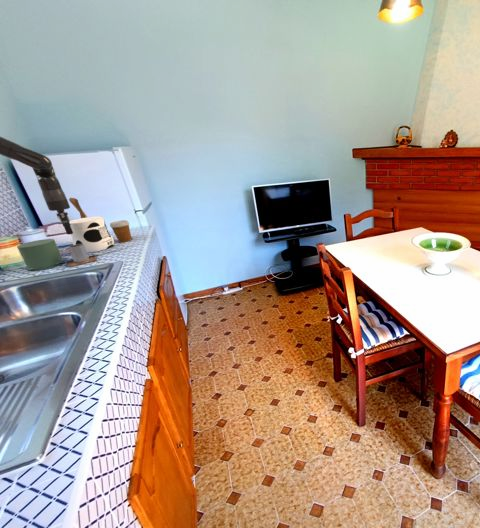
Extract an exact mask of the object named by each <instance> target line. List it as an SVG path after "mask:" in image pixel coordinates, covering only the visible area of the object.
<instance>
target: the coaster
mask: <svg viewBox="0 0 480 528" xmlns="http://www.w3.org/2000/svg"><path fill="white" fill-rule="evenodd" d="M88 256H89V260H87V261H84V262H80V263H74V261H73V259H72V260H67V261H66V263H67V267H68V268H73V267H78V266H81V265H85V264H89V263H95V262H97V261H98V259H97V258H96V256H95V255H88Z"/></svg>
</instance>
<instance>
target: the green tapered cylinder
mask: <svg viewBox="0 0 480 528" xmlns="http://www.w3.org/2000/svg"><path fill="white" fill-rule="evenodd" d="M16 247H17V250H18V252H19V254H20V256H21V257H22V260H23V262H24V263H25V265H26V268H27V269H28V270H27V272H40V271H45V270H50V269H54V268H57V267H59V266H62V265H64V264H65V263H66V261H63V260H64V258H63V256H62V254H61V251H60V249H59V246H58V245H57V243H56V240H55V239H54V238H44V239H38V240H33V241H27V242H24V243H21V244H19V245H17V246H16Z"/></svg>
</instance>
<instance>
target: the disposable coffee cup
mask: <svg viewBox="0 0 480 528" xmlns="http://www.w3.org/2000/svg"><path fill="white" fill-rule="evenodd" d="M109 227H110V228H111V229H112V232H113V233H114V235H115V237H116V239H117V240H118V242H119V243H120V244H121V243H128V242H131V241H132V240H133V239H132V235H131V234H132V233H131V229H130V222H129V221H128V220H126V219H125V220H124V219H123V220H117V221H113V222H110V223H109Z"/></svg>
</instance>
